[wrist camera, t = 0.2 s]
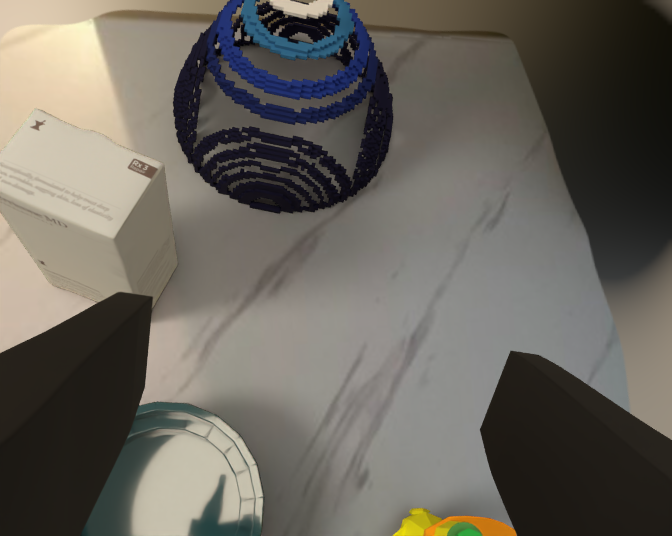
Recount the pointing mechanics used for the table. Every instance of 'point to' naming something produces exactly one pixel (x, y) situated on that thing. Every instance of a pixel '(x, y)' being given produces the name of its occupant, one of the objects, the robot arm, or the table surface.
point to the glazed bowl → (180, 479)
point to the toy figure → (451, 525)
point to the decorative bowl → (295, 89)
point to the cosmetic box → (87, 209)
